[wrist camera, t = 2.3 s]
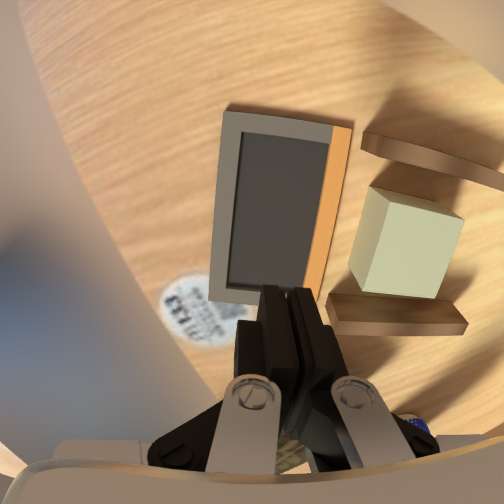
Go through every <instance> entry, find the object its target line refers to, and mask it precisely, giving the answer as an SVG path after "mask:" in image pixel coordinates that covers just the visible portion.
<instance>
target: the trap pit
mask: <svg viewBox="0 0 504 504" xmlns="http://www.w3.org/2000/svg"><path fill="white" fill-rule="evenodd" d="M351 132H352V129H349V128H344V127H339V126H333V125H328V124H322V123H317V122H311V121H304V120H298V119H291V118H284V117H277V116H269V115H261V114H253V113H243V112H233V111H224V113H223V122H222V131H221V141H220V151H219V162H218V173H217V184H216V196H215V208H214V221H213V234H212V248H211V263H210V279H209V296H208V301H217V302H226V303H236V304H247V305H257V306H259V300H260V293H261V287H262V284H267V285H278V286H279V290H284V291H285V296H286V297H287V292H288V291H289V290H290V291H293V289H294V287H305V288H311V290H312V293H313V296H314V299H315V302H316V301H317V297H318V293H319V289H320V285H321V281H322V277H323V273H324V268H325V264H326V260H327V255H328V251H329V247H330V242H331V237H332V233H333V228H334V223H335V219H336V214H337V209H338V204H339V199H340V194H341V189H342V183H343V178H344V173H345V167H346V161H347V156H348V150H349V144H350V138H351Z"/></svg>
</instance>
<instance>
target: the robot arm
mask: <svg viewBox="0 0 504 504" xmlns="http://www.w3.org/2000/svg"><path fill="white" fill-rule="evenodd" d="M283 428H284V431H289V432H290V440H298V442H300V443H301V444H303V445H304V446H305V455H306V458H307V461H308V464H309V467H310V470H311V473H307V474H283V475H274V471H275V461H276V451H277V442H278V440H279V437H280V434H281V431H282V429H283ZM2 504H504V436H500V437H495V438H491V439H489V438H488V437H486V436H484V435H480V434H475V435H437V436H436V437H435V438H434V437H433V436H432V435H430V434H429V433H428V432H426V431H424V430H422V429H420V428H418V427H416V426H415V425H413V424H411V423H409V422H407V421H405V420H404V419H402V418H400V417H398V416H396V415H395V414H393V413H391V412H390V411H389V409H388V408H387V406H386V404H385V402H384V401H383V399H382V397H381V396H380V394H379V392H378V390H377V389H376V388H375V386H374V385H373V384H372V383H370V382H369V381H368V380H365V379H363V378H361V377H356V376H349V374H348V371H347V368H346V365H345V362H344V359H343V356H342V353H341V351H340V348H339V345H338V342H337V339H336V336H335V334H334V331H333V328H332V327H331V326H330V325H323V323H322V320H321V317H320V314H319V311H318V308H317V305H316V302H315V299H314V296H313V293H312V290H311V288H305V287H294V289H293V291H290V290H289V291H288V292H287V297H286V296H285V291H284V290H279V286H278V285H267V284H262V287H261V293H260V300H259V306H258V313H257V320H256V321H249V320H238V322H237V330H236V339H235V352H234V379H233V380H232V381H231V382H230V383H229V384H228V386H227V388H226V392H225V396H224V399H223V400H222V401H220V402H219V403H217V404H215V405H214V406H213V407H211V408H209V409H207V410H206V411H204V412H203V413H201V414H199V415H198V416H196V417H195V418H193V419H191V420H189V421H188V422H186V423H184V424H183V425H181V426H179V427H178V428H176V429H174V430H172V431H171V432H169V433H167V434H165V435H164V436H162V437H160V438H158V439H157V440H156V441H155V442H153V443H145V444H140V442H139V441H111V440H84V439H70V440H66V441H64V442H62V443H60V444H59V445H58V446H57V447H56V448H55V451H54V454H53V459H51V460H46V461H41V462H37V463H35V464H31V465H29V466H28V467H26V468H25V469H23V470H22V471H21V472H20V473H19V474H18V475H17V477H16V478H15V479H14V481H13V482H12V484H11V486H10V487H9V489H8V491H7V493H6V495H5V497H4V499H3V501H2Z"/></svg>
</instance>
